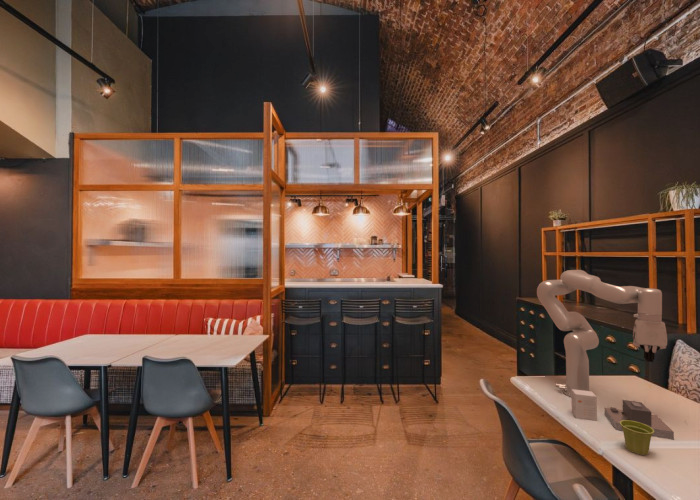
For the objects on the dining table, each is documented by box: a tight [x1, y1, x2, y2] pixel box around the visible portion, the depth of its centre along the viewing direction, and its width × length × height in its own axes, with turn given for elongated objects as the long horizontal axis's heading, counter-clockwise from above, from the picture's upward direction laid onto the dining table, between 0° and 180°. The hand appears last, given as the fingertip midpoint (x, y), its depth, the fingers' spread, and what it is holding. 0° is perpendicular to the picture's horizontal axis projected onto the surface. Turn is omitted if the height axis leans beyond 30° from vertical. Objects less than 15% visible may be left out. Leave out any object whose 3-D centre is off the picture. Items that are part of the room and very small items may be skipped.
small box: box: [571, 389, 598, 421], centre depth 143 cm, size 8×6×10 cm
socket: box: [603, 406, 675, 440], centre depth 135 cm, size 18×14×4 cm
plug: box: [622, 399, 652, 426], centre depth 135 cm, size 6×9×9 cm
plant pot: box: [620, 420, 654, 456], centre depth 119 cm, size 9×9×9 cm
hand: (649, 360), depth 139 cm, fingers closed
